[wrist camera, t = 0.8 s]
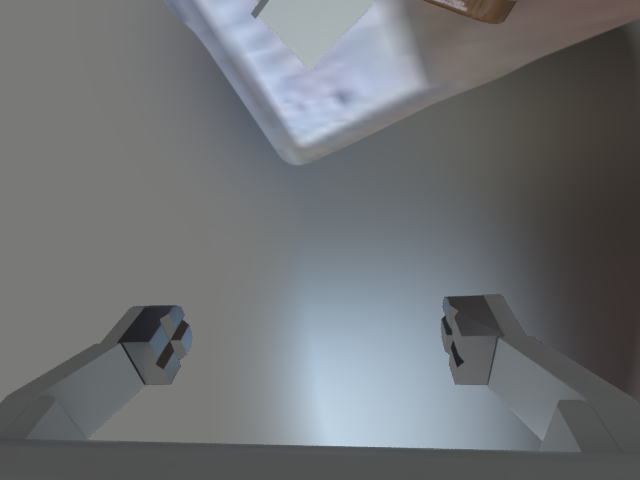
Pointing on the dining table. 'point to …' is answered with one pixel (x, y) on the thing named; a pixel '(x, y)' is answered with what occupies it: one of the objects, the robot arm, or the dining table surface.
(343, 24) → the dispenser
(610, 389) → the robot arm
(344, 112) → the dining table surface
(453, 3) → the tin
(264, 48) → the dining table surface
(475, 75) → the dining table surface
